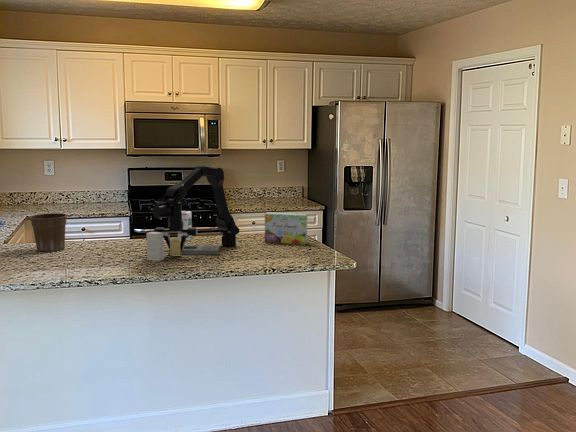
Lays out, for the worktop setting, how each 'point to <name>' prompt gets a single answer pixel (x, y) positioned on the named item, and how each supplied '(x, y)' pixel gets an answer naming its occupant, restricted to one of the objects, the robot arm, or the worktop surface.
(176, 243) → the stepped wooden chunk
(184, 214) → the syrup box
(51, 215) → the plant pot
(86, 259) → the worktop surface
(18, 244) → the worktop surface
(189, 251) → the grey slotted board
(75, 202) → the worktop surface
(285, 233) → the snack box
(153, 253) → the skincare box
